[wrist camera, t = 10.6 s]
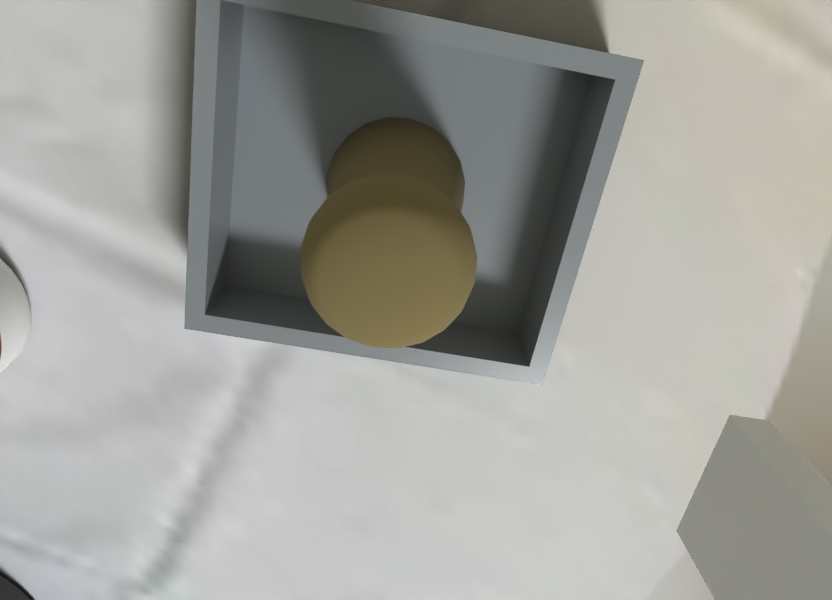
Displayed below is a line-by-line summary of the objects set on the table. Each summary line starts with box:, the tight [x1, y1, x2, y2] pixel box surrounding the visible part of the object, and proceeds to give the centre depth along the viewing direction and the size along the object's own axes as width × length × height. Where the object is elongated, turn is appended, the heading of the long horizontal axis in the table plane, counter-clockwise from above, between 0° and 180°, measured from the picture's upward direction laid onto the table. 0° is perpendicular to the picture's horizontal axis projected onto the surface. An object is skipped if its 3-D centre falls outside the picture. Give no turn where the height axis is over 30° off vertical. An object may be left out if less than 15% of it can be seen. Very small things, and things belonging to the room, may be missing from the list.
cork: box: [301, 117, 477, 348], centre depth 22 cm, size 6×6×11 cm
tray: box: [185, 0, 644, 385], centre depth 25 cm, size 16×14×4 cm
